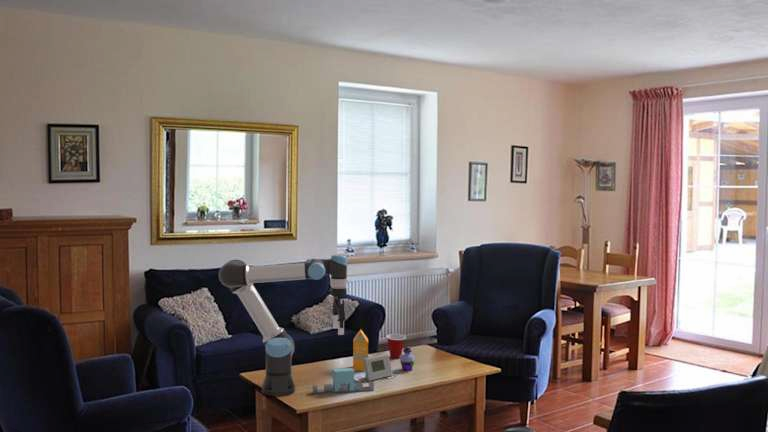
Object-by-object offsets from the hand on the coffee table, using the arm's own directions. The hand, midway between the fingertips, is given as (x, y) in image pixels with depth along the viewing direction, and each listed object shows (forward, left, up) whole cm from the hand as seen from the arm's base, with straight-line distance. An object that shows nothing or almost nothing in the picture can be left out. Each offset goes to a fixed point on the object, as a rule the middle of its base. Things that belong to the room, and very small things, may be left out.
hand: (338, 331), depth 323 cm
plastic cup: (+40, +40, -25) cm, 62 cm away
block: (0, -14, -24) cm, 28 cm away
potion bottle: (+39, +15, -25) cm, 49 cm away
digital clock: (+21, +4, -25) cm, 33 cm away
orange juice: (+16, +22, -25) cm, 37 cm away
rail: (0, -14, -25) cm, 28 cm away
